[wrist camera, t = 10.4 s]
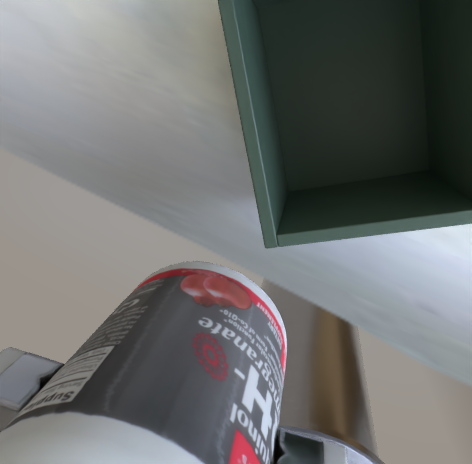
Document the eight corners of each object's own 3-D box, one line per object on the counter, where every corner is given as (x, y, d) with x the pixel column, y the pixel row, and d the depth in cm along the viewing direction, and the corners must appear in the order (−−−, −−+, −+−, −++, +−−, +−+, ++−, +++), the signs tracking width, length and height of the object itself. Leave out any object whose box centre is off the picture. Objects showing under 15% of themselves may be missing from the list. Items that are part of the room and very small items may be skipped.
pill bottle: (325, 340, 13) (344, 987, 4) (213, 424, 15) (40, 982, 5) (196, 220, 12) (-169, 614, 3) (98, 324, 14) (-302, 753, 5)
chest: (438, 176, 32) (499, 220, 22) (281, 199, 35) (265, 249, 25) (425, -47, 28) (494, -133, 17) (247, 2, 31) (208, -45, 20)
